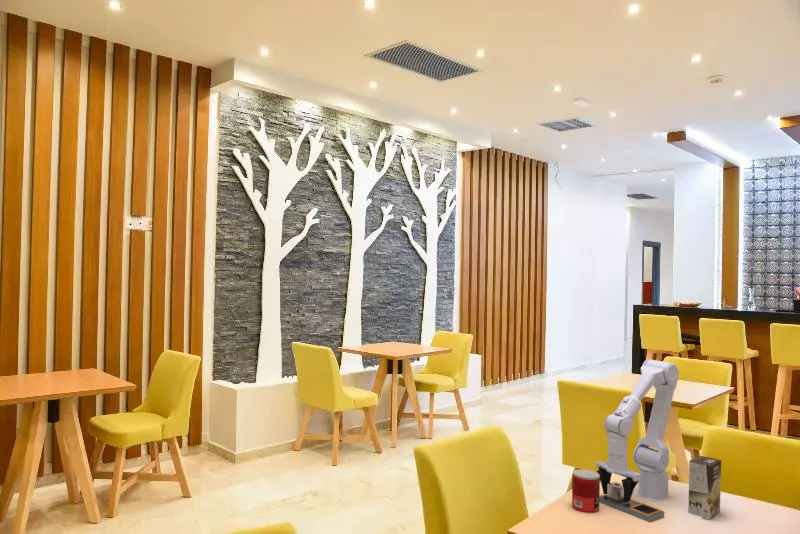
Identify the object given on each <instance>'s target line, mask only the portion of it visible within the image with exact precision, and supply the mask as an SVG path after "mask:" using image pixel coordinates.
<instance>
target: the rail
mask: <svg viewBox="0 0 800 534" xmlns="http://www.w3.org/2000/svg"><path fill="white" fill-rule="evenodd" d="M599 504H603V505H605V506H607V507H610V508H613V509H616V510H617V511H620V512H623V513H625V514H628V515H631V516H633V517H635V518H638V519H641V520H643V521H645V522H648V523H652V522H654V521H658V520H660V519H663V518H665V510H664V511H663V509H659V508H657V507H654V506H651V505H649V504H646V503H643V502H639V501H636V500H633V499H631V500H630V501H629V502H621V503H616V502H614V501H611V500H609V499H607V494H602V495H599Z"/></svg>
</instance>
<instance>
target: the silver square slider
mask: <svg viewBox="0 0 800 534" xmlns="http://www.w3.org/2000/svg"><path fill="white" fill-rule="evenodd" d="M606 495H607V499H609V500H611V501H614V502H616V503H621V502H624V489H623V484H622V482H621V483H620V482H618V481H613V482H610V483H609V484H607V494H606Z"/></svg>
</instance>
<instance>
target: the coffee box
mask: <svg viewBox="0 0 800 534" xmlns="http://www.w3.org/2000/svg"><path fill="white" fill-rule="evenodd" d="M688 463H689V467H688V468H689V470H688V471H689V472H688V506H687V507H688V509H687V513H688V514H691V515H694V516H697V517H701V518H702V519H706V520H711V519H712V518H714V517H716V516H717V515H718V514H720V512H721V486H722V485H721V481H722V460H721V459H718V458H713V457H708V456H703V455H700V456H697V457H695V458H693V459H690V460H689V461H688Z"/></svg>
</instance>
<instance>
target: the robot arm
mask: <svg viewBox="0 0 800 534" xmlns="http://www.w3.org/2000/svg"><path fill="white" fill-rule="evenodd" d="M679 375H680V371H679V369H678V367H677V365H676V363H674V362H668V361H662V360H661V361H660V360H655V359H652V358H648V359H646V360H644V362H643V363H642V365H641V367H640V377H639V378H638V381H637V382H636V384H635V386H634V387H633V390H632V391H631V393H630V394H629V395H625V396H624V397H623V399H622V400H621V401H620V403H619V405H618V406H617V408H616V409H615V411H614V412H613V413H611V414H609V415H607V416H606V418H605V420H604V422H603V428H604V430H605V432H606V435H605V436H606V437H607V462H605V461H602V460H601V461H595V469H598V470H596V471H595V472H597V473H598V474H599V475H600V485H601V488H602V489H601V490H602V492H603V495H607V484H609V483H611V478H612V474H615V475H617V476H621V477H622V479H621V484H623V489H624V502H629V501H630V500H632V496H637V497H639V498H642V499H646V500H648V501H650V502H658V501H660V500H661V501H662V500H664V499H667V498H670V497H672V496H671V494H669V474H668V471H667V468H668V466H669V463H670V457H669V456H670V454H669V453H670V449H669V447H668V446H667V445H666V444H665V443H664V439H665V433H666V428H667V425H668V420H669V415H670V411H671V406H672V402H673V397H674V393H675V390H676V388H677V385H678V380H679V377H680V376H679ZM652 387H654V389H655V394H654V399H653V403H652V408H651V411H650V417H649V420H648V424H647V425H648V426H647V430H646V433H645V434H646V435H645V436H644V437H642V438H640V439H638V440H637V445H636V447H635V448H634V450H633V453H632V456H633V457H632V458H633V461H634V462H635V464H636V467H637V468H638V473H637V472H635V471H633V470H632V469H629V468H628V437H629V435H630V433H631V432H632V430H633V424H634V420H635V417H636V416H637V415H638V413H639V411H641V408H642V403H641V402H642V400H643V399H644V398H645V396H647V394H648V392H649V391H650V390H651V389H652ZM623 478H624V479H623ZM636 486H638V489H637V491H634V490H635V488H636Z"/></svg>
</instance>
